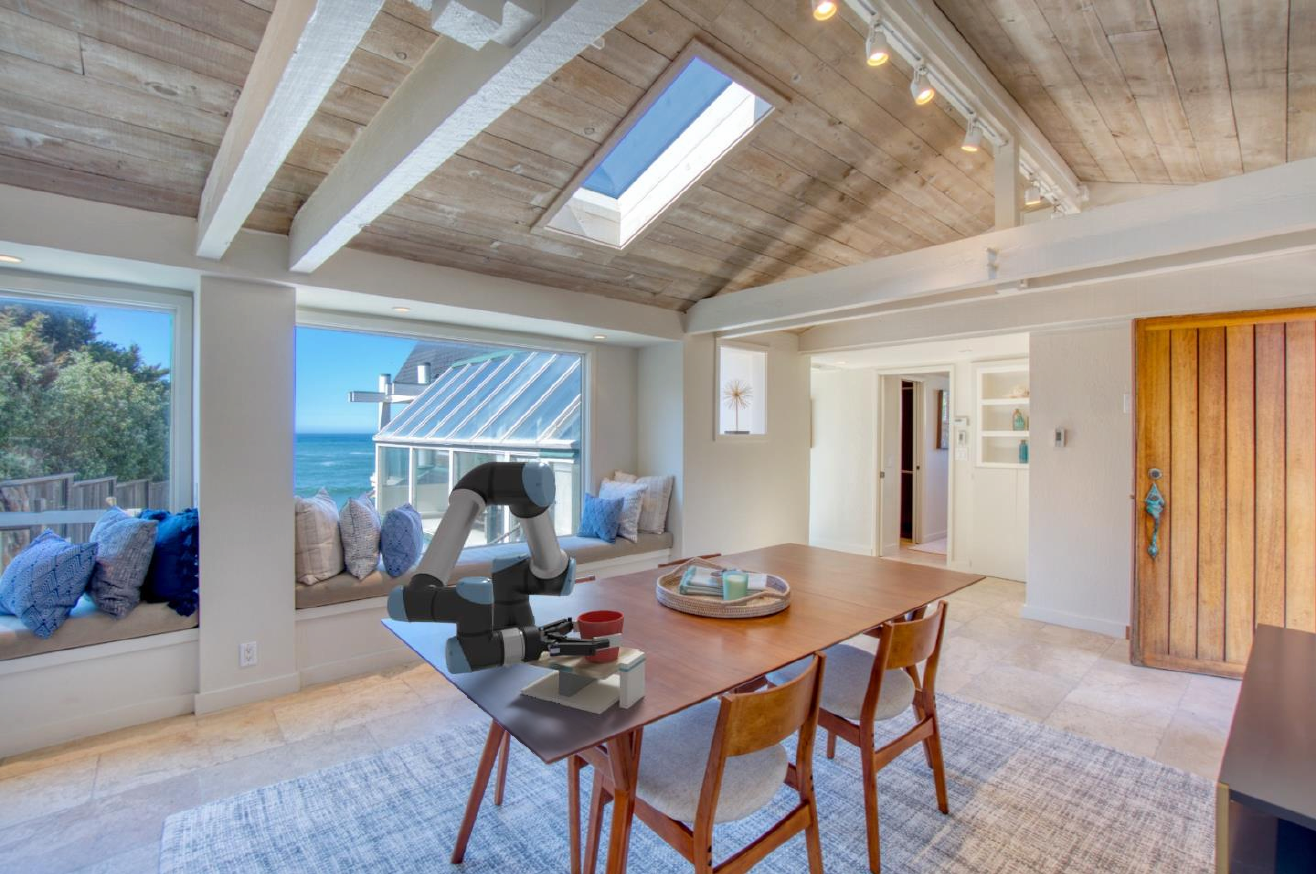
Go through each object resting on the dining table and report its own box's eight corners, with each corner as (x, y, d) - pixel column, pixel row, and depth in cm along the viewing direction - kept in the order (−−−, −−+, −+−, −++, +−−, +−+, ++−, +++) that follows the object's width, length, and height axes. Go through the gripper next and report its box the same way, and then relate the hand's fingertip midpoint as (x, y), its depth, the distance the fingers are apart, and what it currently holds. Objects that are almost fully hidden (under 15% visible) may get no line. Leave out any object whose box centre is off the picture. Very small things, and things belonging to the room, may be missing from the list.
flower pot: (578, 650, 145) (578, 610, 145) (624, 648, 146) (623, 608, 146) (576, 666, 134) (576, 623, 134) (625, 664, 135) (624, 621, 135)
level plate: (521, 663, 141) (521, 657, 141) (563, 642, 155) (562, 636, 155) (603, 680, 130) (603, 673, 130) (640, 656, 144) (639, 649, 144)
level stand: (520, 693, 140) (521, 651, 140) (566, 667, 156) (566, 629, 156) (615, 718, 128) (615, 672, 128) (655, 687, 144) (655, 645, 144)
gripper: (506, 644, 142) (590, 631, 152) (536, 683, 120) (631, 664, 130) (507, 613, 142) (590, 601, 152) (536, 646, 120) (631, 630, 130)
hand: (609, 630), depth 141 cm, fingers open, 13 cm apart
